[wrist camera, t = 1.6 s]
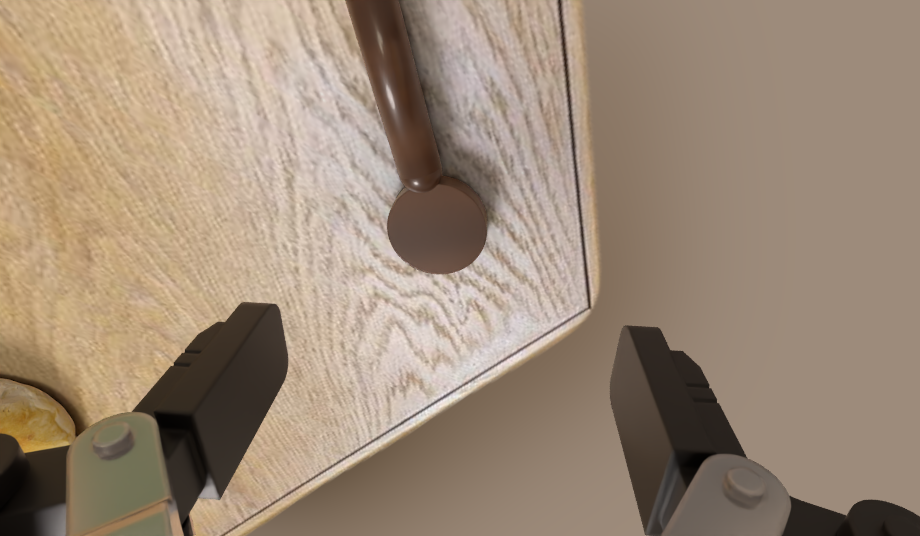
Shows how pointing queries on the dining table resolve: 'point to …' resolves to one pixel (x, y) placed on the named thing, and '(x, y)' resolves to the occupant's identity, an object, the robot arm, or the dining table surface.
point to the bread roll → (33, 417)
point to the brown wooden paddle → (415, 151)
